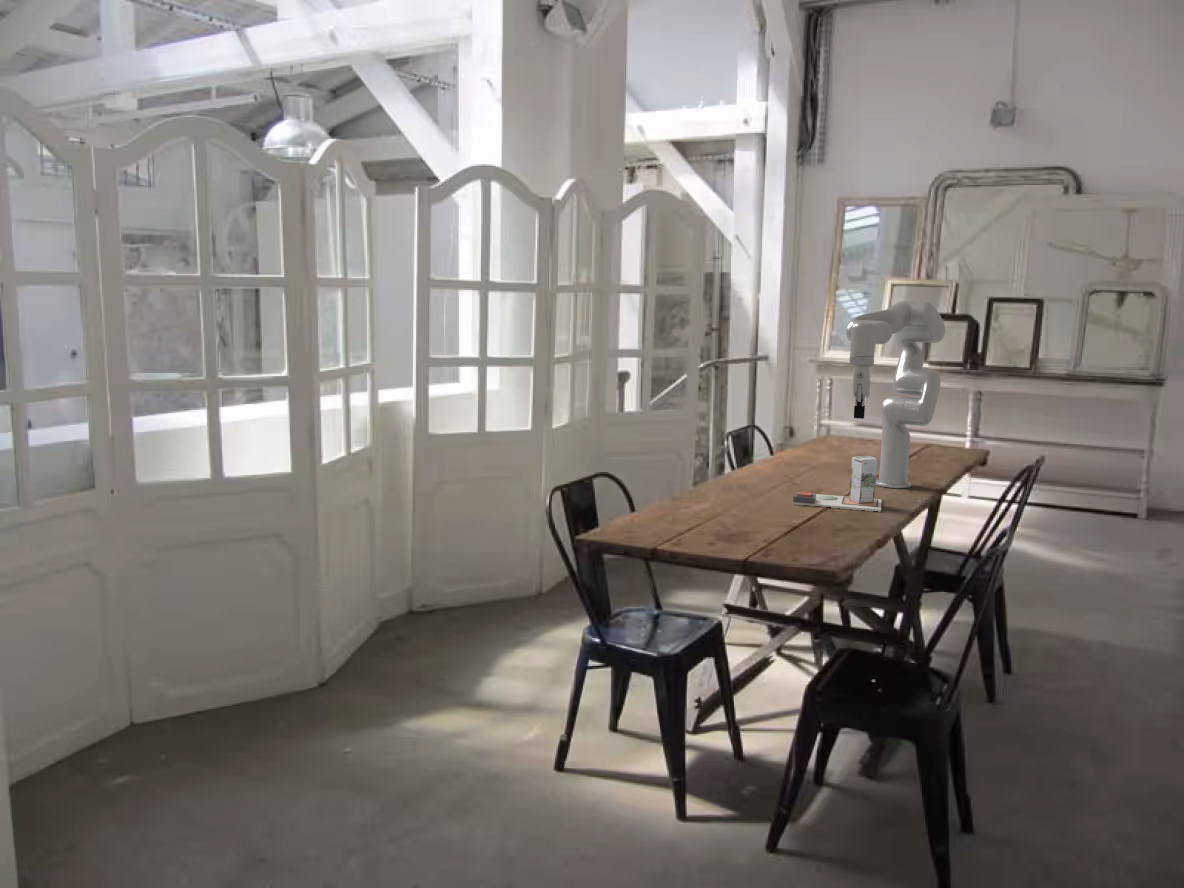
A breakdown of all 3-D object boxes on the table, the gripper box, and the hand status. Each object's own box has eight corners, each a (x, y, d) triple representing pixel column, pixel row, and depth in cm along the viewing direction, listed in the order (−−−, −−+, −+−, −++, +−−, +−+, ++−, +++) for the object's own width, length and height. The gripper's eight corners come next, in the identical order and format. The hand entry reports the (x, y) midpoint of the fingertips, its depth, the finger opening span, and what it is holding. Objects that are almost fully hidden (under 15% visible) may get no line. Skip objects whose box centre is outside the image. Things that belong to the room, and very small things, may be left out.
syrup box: (863, 499, 317) (866, 455, 315) (874, 503, 312) (877, 458, 309) (848, 500, 315) (851, 455, 313) (859, 504, 310) (862, 458, 307)
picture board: (796, 494, 326) (797, 487, 325) (881, 501, 318) (881, 493, 318) (792, 504, 311) (792, 496, 310) (880, 512, 303) (881, 503, 303)
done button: (798, 497, 315) (799, 491, 315) (811, 498, 314) (811, 492, 314) (797, 500, 312) (798, 494, 311) (810, 501, 310) (810, 495, 310)
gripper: (873, 364, 305) (869, 422, 309) (874, 359, 319) (872, 415, 323) (848, 363, 307) (845, 421, 311) (851, 358, 321) (848, 413, 325)
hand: (858, 417), depth 317 cm, fingers closed
